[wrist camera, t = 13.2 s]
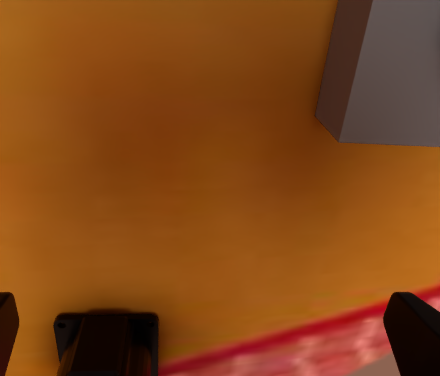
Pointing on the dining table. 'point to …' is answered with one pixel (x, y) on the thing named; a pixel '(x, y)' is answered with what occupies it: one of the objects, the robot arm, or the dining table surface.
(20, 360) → the dining table surface
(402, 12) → the stack pad
